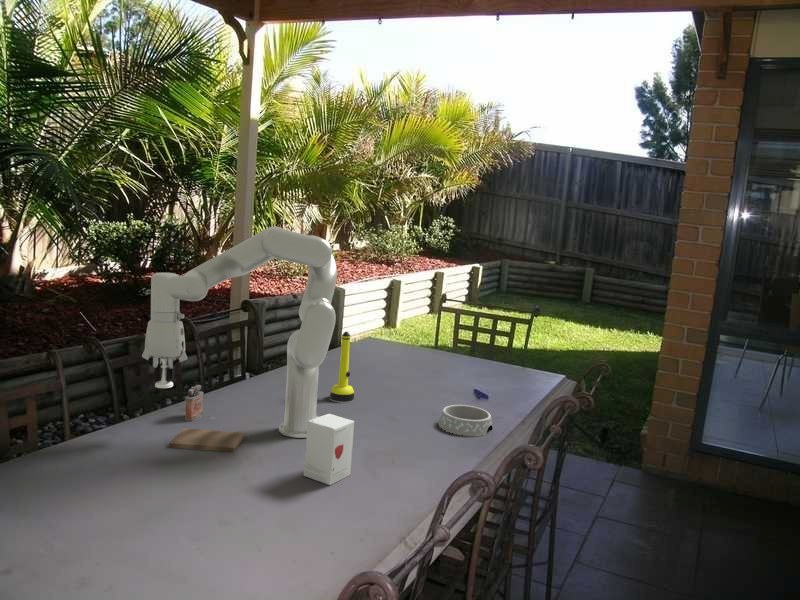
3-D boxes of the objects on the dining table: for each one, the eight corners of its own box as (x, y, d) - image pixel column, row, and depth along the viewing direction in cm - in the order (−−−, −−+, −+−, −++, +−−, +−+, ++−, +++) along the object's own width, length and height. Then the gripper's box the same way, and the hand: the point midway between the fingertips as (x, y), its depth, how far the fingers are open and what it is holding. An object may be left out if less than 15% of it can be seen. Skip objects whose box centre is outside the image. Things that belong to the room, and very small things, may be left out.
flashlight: (329, 331, 228) (352, 335, 225) (341, 328, 236) (363, 331, 233) (325, 399, 232) (347, 404, 228) (336, 393, 240) (358, 398, 237)
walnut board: (244, 436, 190) (244, 432, 190) (234, 452, 178) (234, 447, 178) (183, 432, 190) (183, 428, 190) (169, 447, 178) (169, 443, 178)
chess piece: (157, 383, 186) (158, 349, 184) (175, 383, 186) (175, 349, 185) (152, 387, 181) (153, 353, 179) (170, 388, 181) (171, 354, 180)
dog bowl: (498, 425, 219) (499, 410, 219) (480, 441, 203) (482, 424, 202) (451, 415, 227) (452, 400, 226) (431, 429, 210) (432, 413, 209)
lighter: (192, 422, 198) (193, 391, 197) (182, 420, 199) (183, 389, 198) (205, 414, 206) (206, 384, 205) (195, 413, 207) (196, 383, 206)
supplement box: (330, 486, 162) (334, 429, 159) (302, 476, 166) (306, 420, 164) (351, 475, 169) (355, 420, 167) (324, 465, 174) (328, 412, 172)
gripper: (198, 316, 184) (196, 378, 187) (141, 312, 184) (141, 375, 187) (189, 321, 177) (188, 386, 180) (130, 317, 177) (130, 382, 180)
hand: (164, 380), depth 183 cm, fingers closed on chess piece
